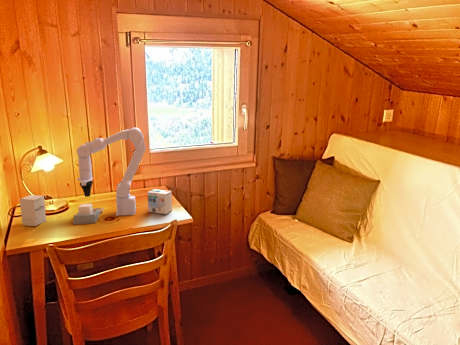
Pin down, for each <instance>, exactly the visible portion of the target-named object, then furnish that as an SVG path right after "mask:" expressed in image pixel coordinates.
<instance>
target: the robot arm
mask: <svg viewBox="0 0 460 345" xmlns="http://www.w3.org/2000/svg"><path fill="white" fill-rule="evenodd" d="M128 139H129V140H130V142H131V143H132V144H133V146H134V149H135V150H134V151H133V154H132V156H131V158H130V160H129V163H128V166H127V168H126V171H125V173H124V175H123V177H122V179H121V181H120V182H119V183H118V184H117V185H116V190H115V193H116V195H115V201H116V202H115V204H116V212H115V217H116V216H134V215H136V212H137V207H136V205H137V204H136V196H135V195H132V194H131V193H130V188H131V185H132V183H133V179H134V178H135V174H136V173H137V171H138V168H139V166H140V163H141V161H142V158H143V156H144V154H145V151H146V149H147V147H146V143H145V138H144V134H143V132H142V131H141V129H140V128H139V127H137V126H135V127H131V128H128V129H124V130H121V131H118V132H116V133H115V134H111V135H110V136H107V137H105V138H102V137H95V138H94V140H91V141H86V142H85V143H84V144H81V145H79V147H78V148H76V154H77V155H78V156H77V158H78V161H77V162H78V172H79V177H78V178H77V181H80V183H79V186H80V188H81V189H82V192H83V194H84V197H85V198H87V197H90V196H91V194H92V192H91V191H92V187H93V183H94V181H93V180H94V177H93V172H92V171H93V168H92V159H91V155H92V154H96V153H97V152H98V153H99V152H100V151H102V150H105V149H106V147H107V145H111V144H113V143H116V142H118V141H120V140H125V141H128Z"/></svg>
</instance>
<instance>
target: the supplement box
mask: <svg viewBox="0 0 460 345" xmlns="http://www.w3.org/2000/svg"><path fill="white" fill-rule="evenodd" d="M19 205H20V213H21V214H20V215H21V216H20V217H21V223H22V224H21V225H23V226H29V227H30V226H31V227H37V226H39V225H40V224H42V223H44V222H47V216H46V214H47V213H46V204H45V196H44V195H35V194H30V195H28V196H24V197H22V198H19Z"/></svg>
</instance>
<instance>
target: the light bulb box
mask: <svg viewBox="0 0 460 345" xmlns="http://www.w3.org/2000/svg"><path fill="white" fill-rule="evenodd" d="M172 192H173V191H172V190H167V189H166V190H165V189H157V188H153V189H151V190H149V191H148V192H147V208H148V209H147V210H148V213H149V212H150V213H154V214H155V213H157V214H163V215H167V214H169V213H170V212H172V211H173V203H172V202H173V200H172V199H173V198H172V197H173V196H172V194H173V193H172Z"/></svg>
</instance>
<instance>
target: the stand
mask: <svg viewBox="0 0 460 345" xmlns="http://www.w3.org/2000/svg"><path fill="white" fill-rule="evenodd" d="M97 209H99V212H100V214H102V213H103V212H104V210H105V207H92V210H93V212H96V210H97Z"/></svg>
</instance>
